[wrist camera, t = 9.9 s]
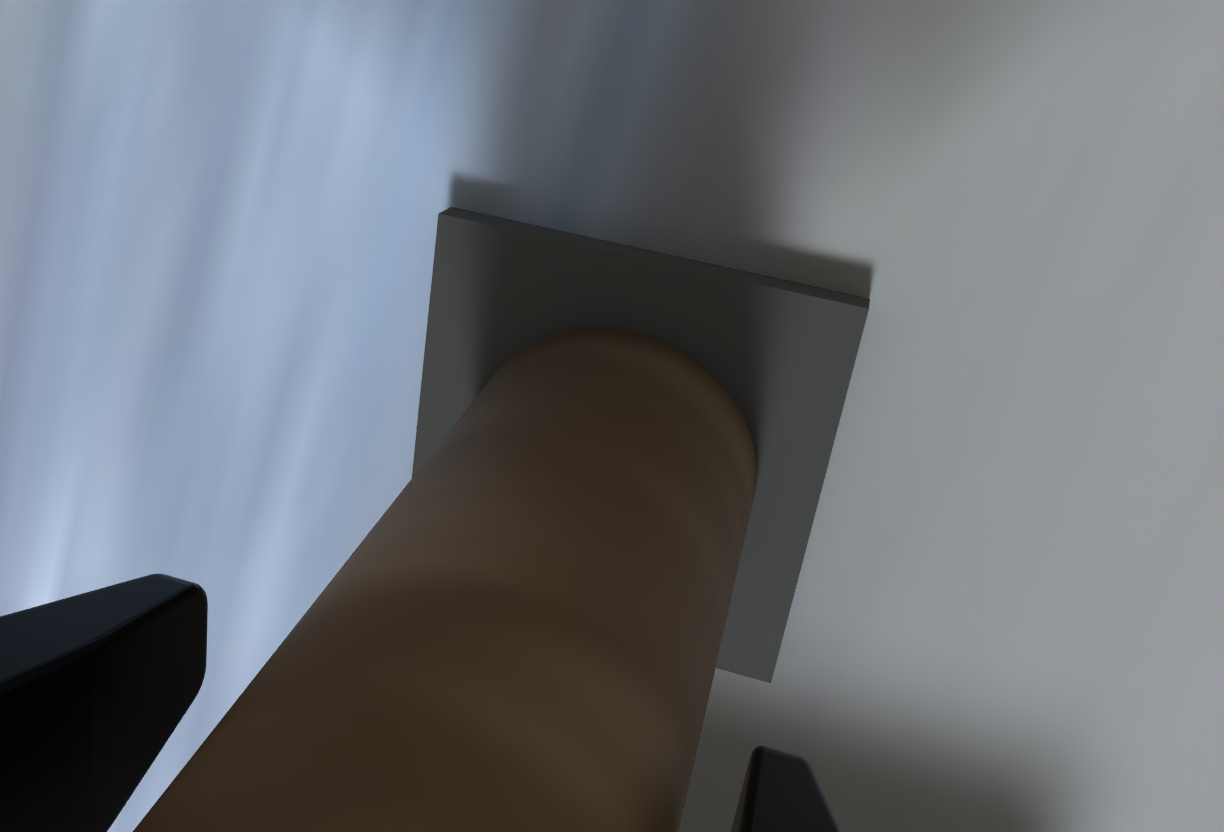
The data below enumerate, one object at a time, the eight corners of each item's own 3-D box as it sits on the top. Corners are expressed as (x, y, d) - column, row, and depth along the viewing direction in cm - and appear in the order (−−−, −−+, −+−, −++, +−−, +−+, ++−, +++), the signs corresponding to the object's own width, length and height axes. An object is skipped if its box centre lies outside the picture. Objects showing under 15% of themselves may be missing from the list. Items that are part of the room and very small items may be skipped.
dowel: (785, 365, 13) (522, 1533, 4) (725, 616, 14) (444, 1841, 5) (484, 298, 13) (-372, 1198, 4) (460, 548, 15) (-196, 1572, 6)
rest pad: (870, 299, 13) (868, 308, 12) (773, 665, 15) (770, 682, 14) (450, 207, 14) (438, 213, 13) (412, 566, 15) (401, 580, 15)
